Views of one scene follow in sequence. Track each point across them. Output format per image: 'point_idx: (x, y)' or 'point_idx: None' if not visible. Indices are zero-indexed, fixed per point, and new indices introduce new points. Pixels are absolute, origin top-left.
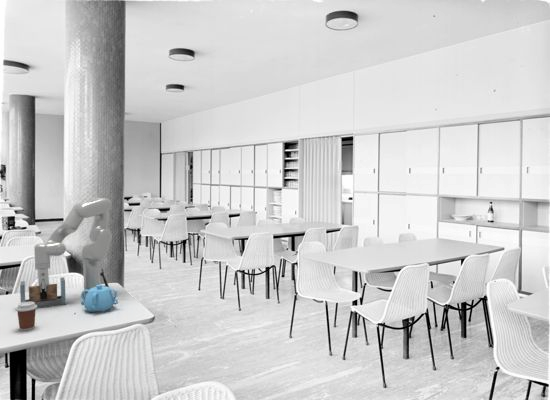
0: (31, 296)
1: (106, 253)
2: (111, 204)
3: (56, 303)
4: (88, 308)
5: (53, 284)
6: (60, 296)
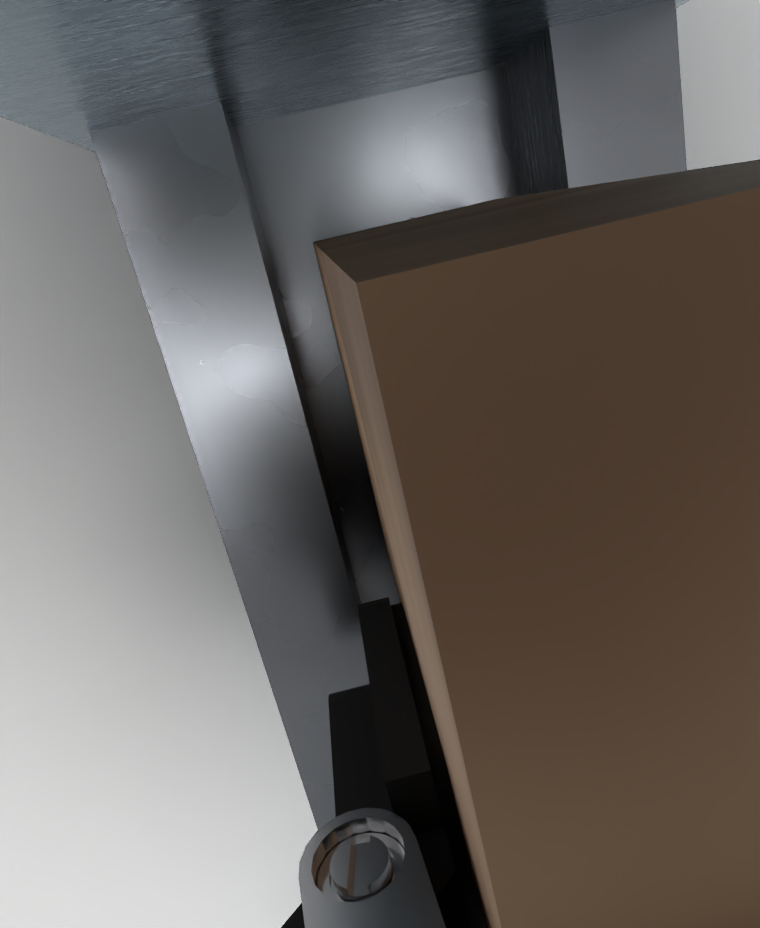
0: None
1: None
2: None
3: None
4: None
5: (704, 581)
6: (223, 125)
